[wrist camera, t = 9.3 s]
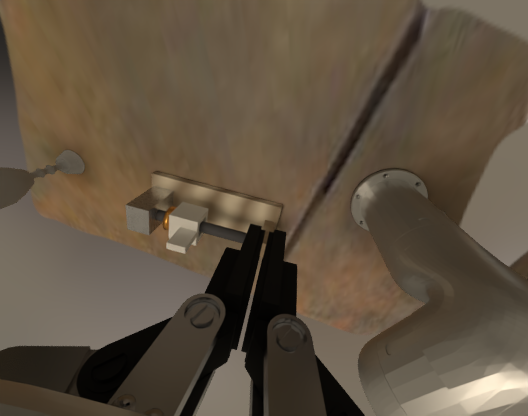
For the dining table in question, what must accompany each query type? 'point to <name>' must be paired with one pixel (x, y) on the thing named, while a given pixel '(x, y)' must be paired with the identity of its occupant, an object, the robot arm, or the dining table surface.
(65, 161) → the chalice
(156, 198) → the connector
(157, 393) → the robot arm
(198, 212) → the sleeve
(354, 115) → the dining table surface
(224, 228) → the dark grey rod
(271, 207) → the beige rod holder
